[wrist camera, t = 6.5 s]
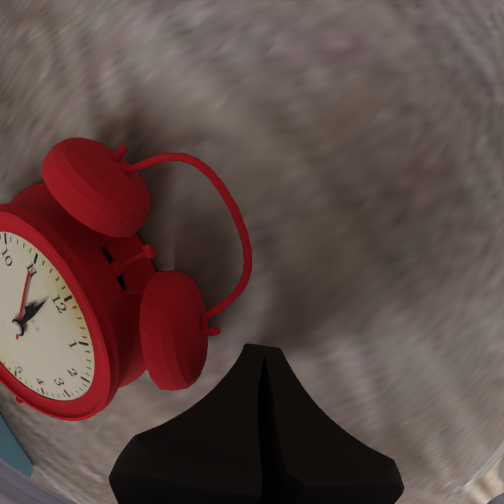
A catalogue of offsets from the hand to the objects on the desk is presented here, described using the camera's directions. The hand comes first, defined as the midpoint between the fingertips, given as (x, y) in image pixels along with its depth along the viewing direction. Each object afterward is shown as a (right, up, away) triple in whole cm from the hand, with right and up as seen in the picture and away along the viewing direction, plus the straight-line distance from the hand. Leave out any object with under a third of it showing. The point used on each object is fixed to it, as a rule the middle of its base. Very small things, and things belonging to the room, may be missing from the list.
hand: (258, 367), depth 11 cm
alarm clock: (-7, +3, +2) cm, 8 cm away
